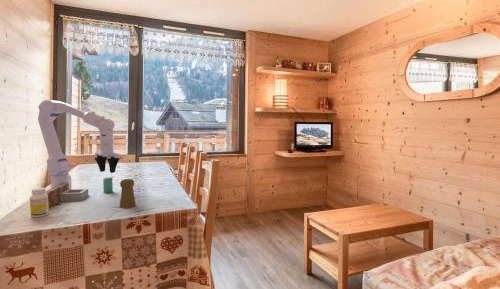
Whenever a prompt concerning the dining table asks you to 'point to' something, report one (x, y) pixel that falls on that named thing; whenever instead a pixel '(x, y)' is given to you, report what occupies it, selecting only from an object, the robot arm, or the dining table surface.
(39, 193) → the supplement bottle
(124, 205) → the cork
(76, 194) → the socket block
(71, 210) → the dining table surface
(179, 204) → the dining table surface
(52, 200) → the rail
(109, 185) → the dowel
